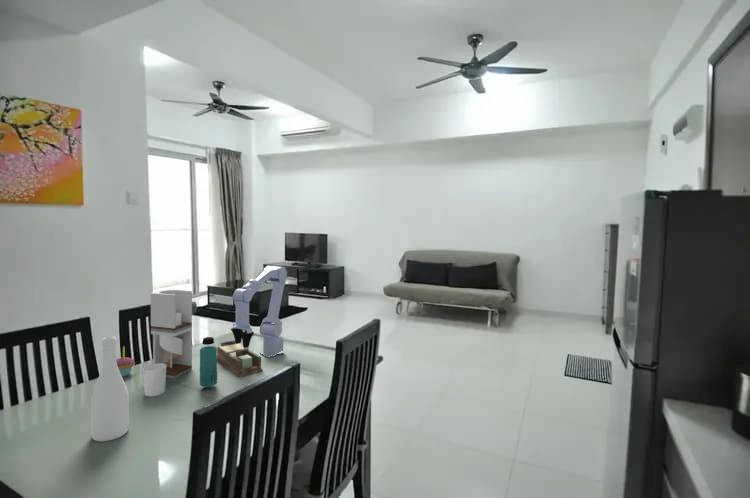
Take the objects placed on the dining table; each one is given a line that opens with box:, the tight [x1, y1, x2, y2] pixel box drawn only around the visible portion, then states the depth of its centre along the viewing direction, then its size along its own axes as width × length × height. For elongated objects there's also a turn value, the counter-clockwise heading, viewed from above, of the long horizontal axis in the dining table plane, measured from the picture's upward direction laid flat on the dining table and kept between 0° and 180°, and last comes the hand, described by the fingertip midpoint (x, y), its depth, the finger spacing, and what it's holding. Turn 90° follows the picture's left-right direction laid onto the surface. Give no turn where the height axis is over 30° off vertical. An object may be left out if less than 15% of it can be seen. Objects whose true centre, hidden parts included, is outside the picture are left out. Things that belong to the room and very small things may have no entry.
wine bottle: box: [90, 335, 130, 442], centre depth 118 cm, size 10×10×30 cm
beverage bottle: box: [199, 336, 218, 388], centre depth 153 cm, size 6×7×20 cm
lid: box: [217, 339, 250, 354], centre depth 181 cm, size 10×11×2 cm
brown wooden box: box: [216, 347, 264, 378], centre depth 178 cm, size 11×24×6 cm, turn 44°
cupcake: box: [116, 346, 136, 377], centre depth 164 cm, size 9×8×12 cm
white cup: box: [142, 363, 167, 397], centre depth 148 cm, size 8×8×10 cm
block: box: [238, 355, 252, 370], centre depth 173 cm, size 4×4×5 cm
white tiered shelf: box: [150, 288, 193, 380], centre depth 167 cm, size 11×11×35 cm
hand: (242, 345), depth 175 cm, fingers open, 7 cm apart
